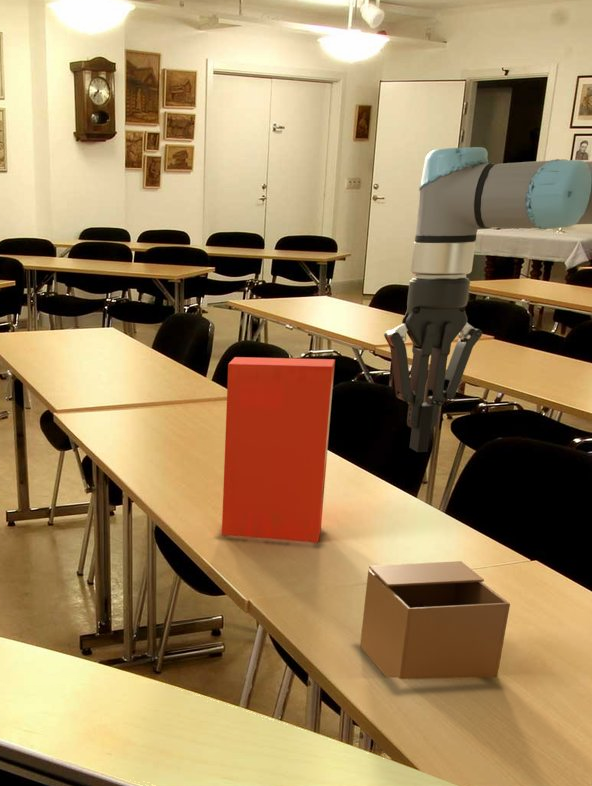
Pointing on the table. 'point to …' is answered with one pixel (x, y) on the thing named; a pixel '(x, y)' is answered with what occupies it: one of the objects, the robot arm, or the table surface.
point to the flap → (425, 573)
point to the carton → (433, 629)
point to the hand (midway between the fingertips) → (418, 449)
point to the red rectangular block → (276, 447)
